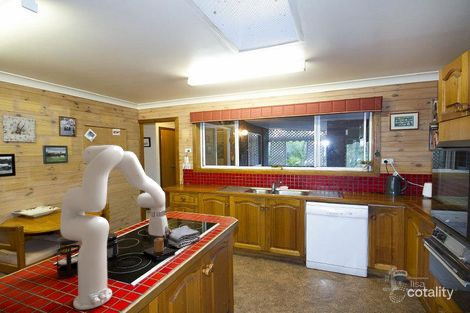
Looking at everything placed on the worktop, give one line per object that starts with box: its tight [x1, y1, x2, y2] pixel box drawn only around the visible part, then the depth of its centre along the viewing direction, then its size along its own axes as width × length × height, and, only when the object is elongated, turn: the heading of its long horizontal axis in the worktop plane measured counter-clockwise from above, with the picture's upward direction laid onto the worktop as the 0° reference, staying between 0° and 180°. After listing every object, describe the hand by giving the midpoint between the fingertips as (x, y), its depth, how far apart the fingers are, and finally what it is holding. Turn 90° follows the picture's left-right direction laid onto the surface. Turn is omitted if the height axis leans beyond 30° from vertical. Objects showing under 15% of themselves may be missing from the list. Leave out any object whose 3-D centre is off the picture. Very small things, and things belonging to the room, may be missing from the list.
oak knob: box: [153, 237, 164, 252], centre depth 131 cm, size 5×5×6 cm
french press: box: [56, 236, 82, 280], centre depth 111 cm, size 12×9×23 cm
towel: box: [165, 225, 201, 249], centre depth 150 cm, size 15×18×8 cm
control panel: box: [142, 246, 176, 263], centre depth 131 cm, size 14×11×3 cm
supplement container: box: [107, 232, 119, 262], centre depth 128 cm, size 10×10×12 cm
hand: (158, 244), depth 131 cm, fingers open, 9 cm apart
